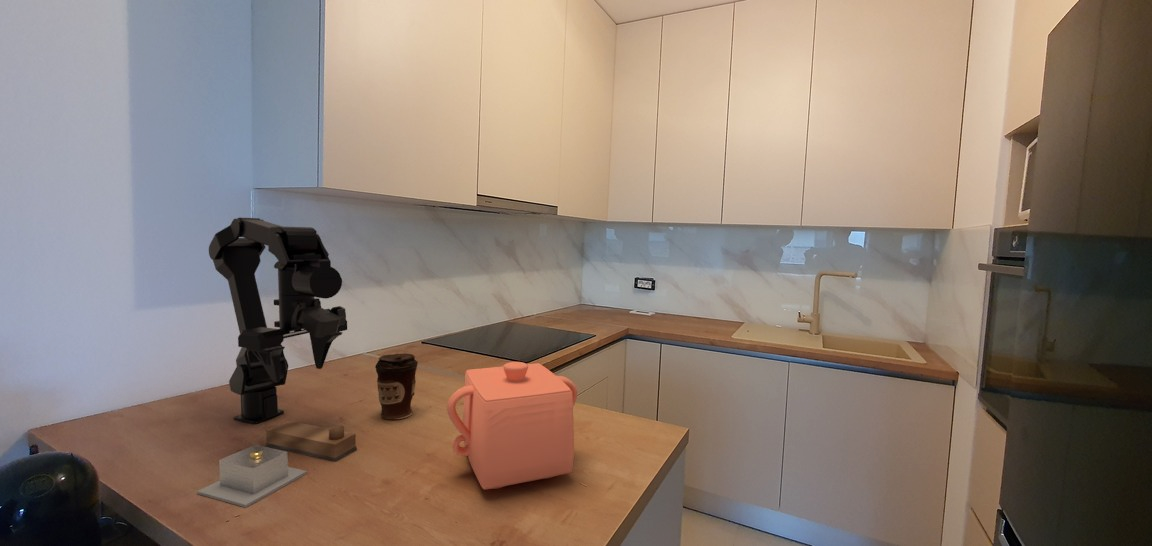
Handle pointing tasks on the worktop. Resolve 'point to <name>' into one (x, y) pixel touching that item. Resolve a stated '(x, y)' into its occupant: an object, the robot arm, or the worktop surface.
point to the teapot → (515, 423)
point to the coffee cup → (396, 384)
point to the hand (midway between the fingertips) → (298, 375)
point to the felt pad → (247, 498)
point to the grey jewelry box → (253, 469)
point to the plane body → (312, 440)
